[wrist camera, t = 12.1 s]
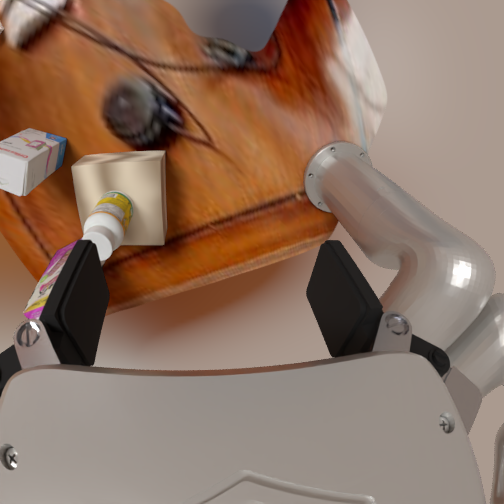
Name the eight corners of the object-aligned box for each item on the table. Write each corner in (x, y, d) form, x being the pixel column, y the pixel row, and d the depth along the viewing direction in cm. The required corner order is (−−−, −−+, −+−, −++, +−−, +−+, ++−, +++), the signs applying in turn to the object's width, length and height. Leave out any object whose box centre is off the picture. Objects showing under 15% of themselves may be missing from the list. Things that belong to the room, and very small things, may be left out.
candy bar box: (96, 228, 41) (62, 297, 28) (110, 250, 44) (85, 321, 31) (55, 249, 41) (21, 313, 28) (69, 268, 44) (41, 334, 31)
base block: (165, 150, 36) (160, 160, 32) (167, 227, 43) (164, 245, 39) (84, 155, 33) (71, 166, 29) (95, 228, 41) (86, 245, 37)
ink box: (68, 136, 31) (28, 162, 21) (62, 166, 33) (25, 199, 24) (28, 126, 27) (-16, 149, 18) (24, 154, 30) (-18, 184, 20)
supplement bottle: (111, 182, 32) (87, 217, 24) (141, 203, 35) (126, 243, 27) (93, 210, 34) (69, 250, 26) (122, 229, 37) (105, 272, 29)
